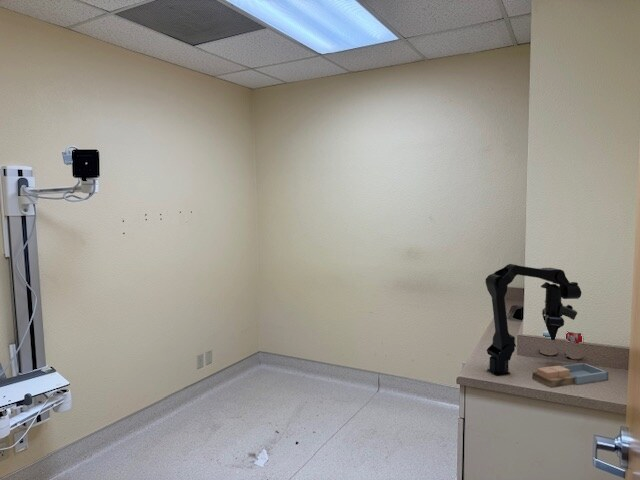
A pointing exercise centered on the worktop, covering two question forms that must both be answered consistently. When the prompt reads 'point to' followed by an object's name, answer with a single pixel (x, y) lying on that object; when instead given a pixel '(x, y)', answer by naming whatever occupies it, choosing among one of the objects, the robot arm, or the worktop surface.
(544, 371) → the tile
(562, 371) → the tile
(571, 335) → the soda can
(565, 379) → the bench board
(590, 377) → the box
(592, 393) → the worktop surface
